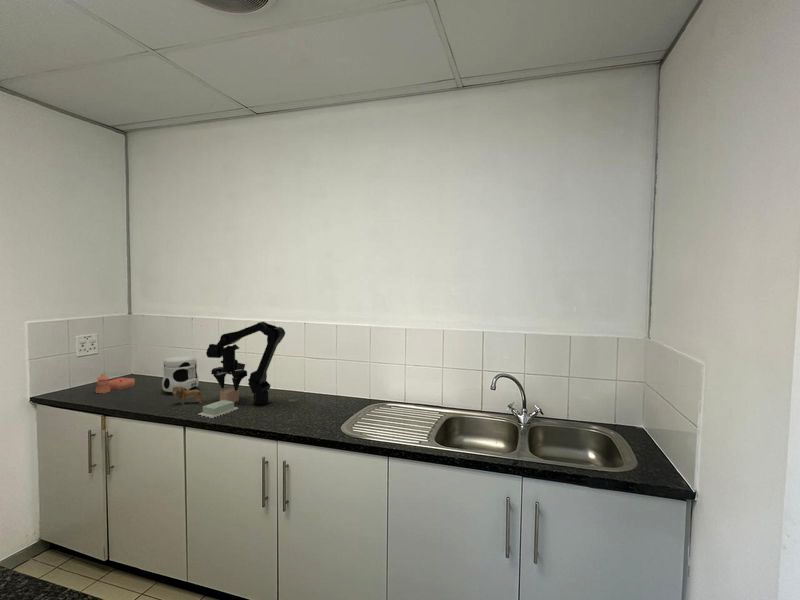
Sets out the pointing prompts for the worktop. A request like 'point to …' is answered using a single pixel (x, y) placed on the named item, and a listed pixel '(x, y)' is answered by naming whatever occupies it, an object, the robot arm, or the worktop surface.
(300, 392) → the worktop surface
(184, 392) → the lion figurine
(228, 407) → the grey scalloped base block
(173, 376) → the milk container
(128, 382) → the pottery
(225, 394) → the terracotta brick
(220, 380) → the robot arm
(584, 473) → the worktop surface
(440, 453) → the worktop surface
